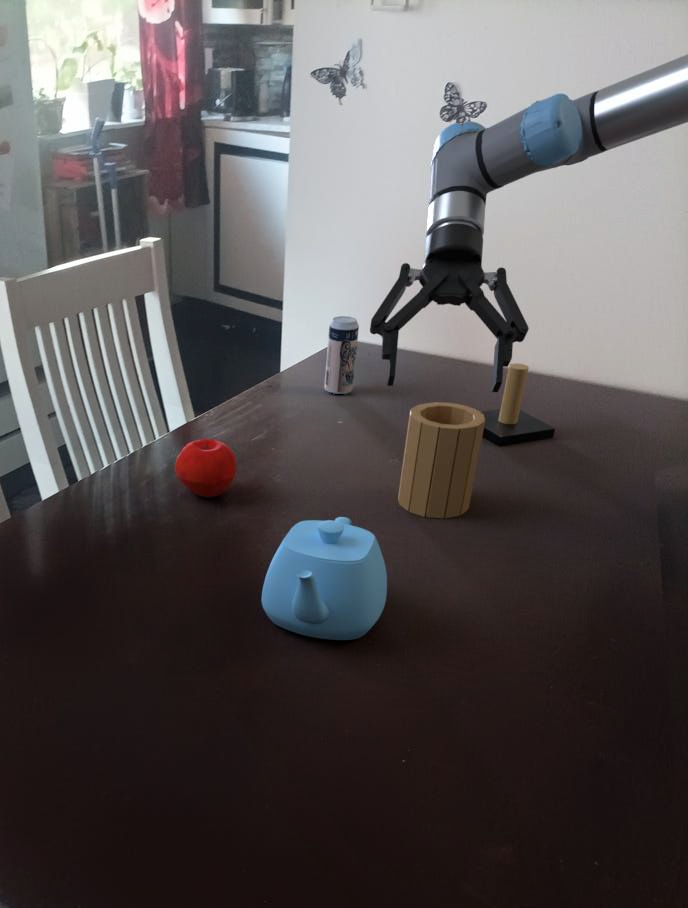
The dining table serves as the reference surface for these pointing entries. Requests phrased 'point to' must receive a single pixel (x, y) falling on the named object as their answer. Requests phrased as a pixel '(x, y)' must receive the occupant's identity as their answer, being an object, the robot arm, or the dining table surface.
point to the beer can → (341, 355)
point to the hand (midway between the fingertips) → (443, 384)
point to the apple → (206, 467)
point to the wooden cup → (440, 459)
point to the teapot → (326, 580)
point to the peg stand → (514, 414)
